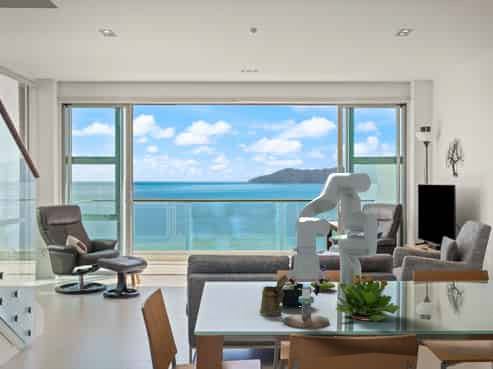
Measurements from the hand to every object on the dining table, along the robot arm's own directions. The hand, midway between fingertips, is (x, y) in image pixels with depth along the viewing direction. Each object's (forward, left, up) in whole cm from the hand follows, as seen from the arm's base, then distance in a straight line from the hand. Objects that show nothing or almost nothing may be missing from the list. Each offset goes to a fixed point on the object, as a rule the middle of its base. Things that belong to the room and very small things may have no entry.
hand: (306, 294), depth 239 cm
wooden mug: (+11, -15, -11) cm, 22 cm away
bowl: (+1, -31, -11) cm, 33 cm away
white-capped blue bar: (0, +1, -3) cm, 3 cm away
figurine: (-20, -67, -11) cm, 71 cm away
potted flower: (-24, -7, -11) cm, 27 cm away
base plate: (0, 0, -11) cm, 11 cm away
